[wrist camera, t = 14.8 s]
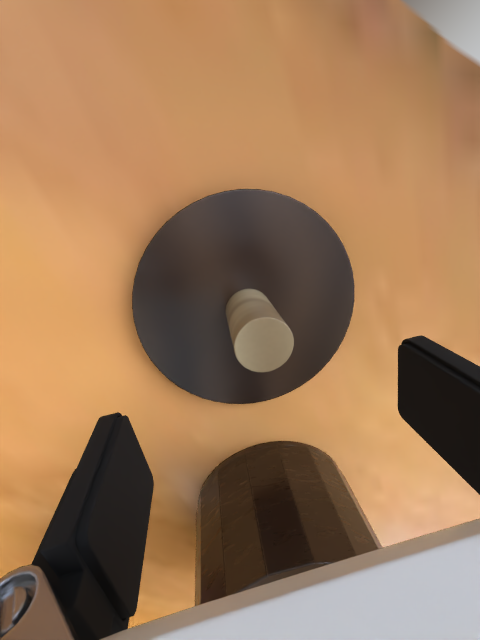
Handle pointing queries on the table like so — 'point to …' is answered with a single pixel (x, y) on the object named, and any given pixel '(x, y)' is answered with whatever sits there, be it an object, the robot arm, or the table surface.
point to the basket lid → (243, 296)
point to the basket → (274, 519)
